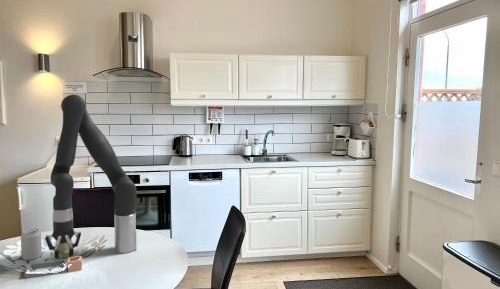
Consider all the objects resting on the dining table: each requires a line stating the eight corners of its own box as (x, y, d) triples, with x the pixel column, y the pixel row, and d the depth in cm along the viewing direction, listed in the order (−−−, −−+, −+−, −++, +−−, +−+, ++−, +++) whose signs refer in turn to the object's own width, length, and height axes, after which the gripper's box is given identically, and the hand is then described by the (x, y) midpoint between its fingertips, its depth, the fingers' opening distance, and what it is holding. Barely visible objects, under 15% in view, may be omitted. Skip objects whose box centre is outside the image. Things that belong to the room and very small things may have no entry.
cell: (70, 257, 154) (70, 238, 153) (69, 261, 150) (69, 242, 149) (58, 258, 152) (58, 239, 152) (57, 263, 148) (57, 243, 147)
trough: (68, 263, 149) (67, 258, 148) (66, 272, 141) (66, 267, 140) (28, 268, 143) (28, 263, 143) (24, 278, 135) (24, 273, 135)
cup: (81, 264, 147) (81, 255, 147) (81, 270, 143) (81, 260, 142) (68, 266, 145) (68, 257, 145) (67, 272, 141) (67, 262, 140)
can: (32, 261, 149) (31, 234, 148) (17, 259, 150) (16, 232, 149) (45, 254, 156) (45, 228, 155) (31, 252, 158) (30, 226, 156)
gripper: (82, 214, 156) (82, 251, 157) (44, 217, 150) (46, 256, 152) (81, 219, 149) (82, 258, 151) (42, 223, 143) (43, 263, 145)
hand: (64, 257), depth 151 cm, fingers closed on cell, 4 cm apart
